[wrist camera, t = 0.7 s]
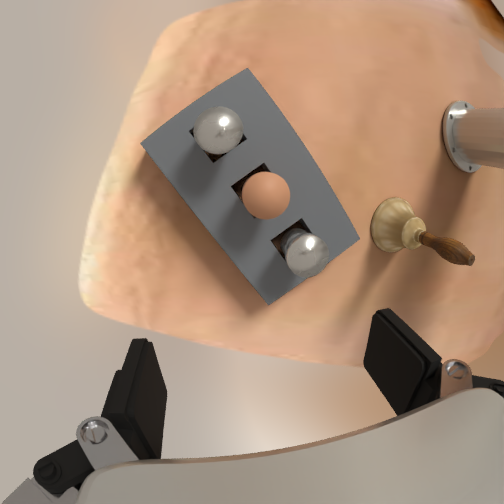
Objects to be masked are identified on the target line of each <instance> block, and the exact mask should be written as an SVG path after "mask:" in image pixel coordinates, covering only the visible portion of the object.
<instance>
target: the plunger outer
mask: <svg viewBox="0 0 504 504" xmlns="http://www.w3.org/2000/svg"><path fill="white" fill-rule="evenodd" d="M193 131H194V137H195V140H196V142H197V144H198V145H199V146H200V147H201V148H202V149H203V150H205V151H206V152H209V153H212V154H224V153H227V152H229V151H231V150H232V149H234V148H235V147H236V146H237V145H238V144H239V142H240V140H241V138H242V135H243V124H242V121H241V119H240V117H239V116H238V115H237V114H236V113H235V112H234V111H233V110H231V109H229V108H226V107H212V108H209V109H207V110H205V111H204V112H202V113H201V114H200V115H199V116H198V118H197V119H196V121H195V124H194V130H193Z"/></svg>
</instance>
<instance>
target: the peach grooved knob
mask: <svg viewBox="0 0 504 504" xmlns="http://www.w3.org/2000/svg"><path fill="white" fill-rule="evenodd" d="M242 201H243V204H244V206H245V207H246V209H247V210H248V211H249V213H251V214H252V215H253V216H255V217H257V218H259V219H273V218H276V217H278V216H279V215H281V214H282V213H283V212H284V211H285V210H286V208H287V206H288V204H289V201H290V190H289V187H288V185H287V183H286V181H285V180H284V179H283V178H282V177H280V176H279V175H277V174H274V173H271V172H259V173H256V174H254V175H252V176H250V177H249V178H247V179H246V181H245V182H244V184H243V187H242Z"/></svg>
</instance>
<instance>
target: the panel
mask: <svg viewBox="0 0 504 504" xmlns="http://www.w3.org/2000/svg"><path fill="white" fill-rule="evenodd" d="M212 107H226V108H229V109H231V110H233V111H234V112H235V113H236V114H237V115H238V116H239V117H240V119H241V121H242V124H243V135H242V138H241V139H242V140H243V141H244V142H242V143H241V144H239V145H238V146H236V147H235V148H234V149H232V150H231V151H229V152H228V153H226V154H225V155H224V156H222V157H221V158H220V159H218V160H217V161H215V162H214V163H213V162H212V161H211V159H210V158H209V157H208V155H207V154H206V153H205V151H204V150H203V149H202V148H201V147H200V146H199V145H198V144H197V142H196V140H195V138H194V137H193V136H192V134H193V133H194V131H193V130H194V124H195V121H196V119H197V118H198V116H199V115H200V114H201V113H202V112H204V111H205V110H207V109H209V108H212ZM140 144H141V145H142V146H143V148H144V149H145V150H146V151H147V153H148V154H149V155H150V157H151V158H152V159H153V161H154V162H155V163H156V165H157V166H158V167H159V168H160V170H161V171H162V172H163V174H164V175H165V176H166V178H167V179H168V180H169V181H170V183H171V184H172V185H173V187H174V188H175V189H176V190H177V192H178V193H179V194H180V196H181V197H182V198H183V199H184V201H185V202H186V203H187V205H188V206H189V207H190V208H191V210H192V211H193V212H194V213H195V215H196V216H197V217H198V219H199V220H200V221H201V222H202V224H203V225H204V226H205V227H206V229H207V230H208V231H209V232H210V234H211V235H212V236H213V237H214V239H215V240H216V241H217V242H218V244H219V245H220V246H221V247H222V249H223V250H224V251H225V252H226V254H227V255H228V256H229V257H230V259H231V260H232V261H233V262H234V264H235V265H236V266H237V267H238V269H239V270H240V271H241V272H242V274H243V275H244V276H245V277H246V278H247V280H248V281H249V282H250V283H251V285H252V286H253V287H254V288H255V289H256V291H257V292H258V293H259V294H260V296H261V297H262V298H263V299H264V300H265V302H266V303H267V304H268V305H270V304H271V303H273V302H274V301H276V300H277V299H278V298H280V297H281V296H283V295H284V294H286V293H287V292H288V291H290V290H291V289H293V288H294V287H296V286H297V285H298V284H300V283H301V282H303V281H304V280H305V279H307V278H308V277H300V276H297V275H296V274H294V273H293V272H292V271H291V269H290V268H289V266H288V265H287V263H286V260H285V257H284V258H283V257H282V255H281V254H280V253H279V251H278V250H277V248H276V247H275V246H274V244H273V243H272V242H271V240H272V239H273V238H274V237H276V236H277V235H279V234H280V233H281V232H283V231H284V230H286V229H287V228H288V227H290V226H291V225H293V224H294V223H295V222H297V221H298V220H299V222H300V223H301V225H302V226H303V228H304V229H305V231H306V232H307V233H312V234H315V235H316V236H318V237H319V238H320V239H322V240H323V241H324V242H325V243H326V245H327V247H328V250H329V259H328V262H327V263H329V262H330V261H331V260H333V259H334V258H335V257H337V256H338V255H339V254H341V253H342V252H343V251H345V250H346V249H347V248H349V247H350V246H351V245H353V244H354V243H355V242H357V241H358V240H359V239H360V238H359V236H358V234H357V232H356V230H355V228H354V227H353V225H352V223H351V221H350V219H349V217H348V216H347V214H346V212H345V210H344V209H343V207H342V205H341V203H340V202H339V200H338V198H337V197H336V195H335V193H334V191H333V190H332V188H331V186H330V185H329V183H328V181H327V180H326V178H325V177H324V175H323V173H322V172H321V170H320V169H319V167H318V165H317V164H316V162H315V161H314V159H313V158H312V156H311V154H310V153H309V151H308V150H307V148H306V147H305V145H304V144H303V142H302V141H301V139H300V138H299V136H298V135H297V133H296V132H295V131H294V129H293V128H292V126H291V125H290V123H289V122H288V120H287V119H286V118H285V116H284V115H283V113H282V112H281V111H280V109H279V108H278V107H277V105H276V104H275V102H274V101H273V100H272V98H271V97H270V96H269V94H268V93H267V92H266V90H265V89H264V88H263V87H262V85H261V84H260V83H259V81H258V80H257V79H256V78H255V76H254V75H253V74H252V73H251V71H250V70H249V69H248V68H246V69H245V70H243V71H241V72H240V73H238V74H236V75H235V76H233V77H231V78H230V79H228V80H226V81H225V82H223V83H222V84H220V85H218V86H217V87H215V88H214V89H212V90H211V91H209V92H208V93H206V94H205V95H203V96H202V97H200V98H199V99H197V100H196V101H195V102H193V103H192V104H190V105H189V106H187V107H186V108H185V109H183V110H182V111H181V112H179V113H178V114H177V115H175V116H174V117H173V118H171V119H170V120H169V121H167V122H166V123H165V124H163V125H162V126H161V127H160V128H158V129H157V130H156V131H155V132H153V133H152V134H151V135H150V136H148V137H147V138H146V139H145V140H144V141H142V142H141V143H140ZM260 165H261V166H262V168H263V169H264V170H265V172H271V173H274V174H277V175H279V176H280V177H282V178H283V179H284V180H285V181H286V183H287V185H288V187H289V190H290V201H289V204H288V206H287V208H286V210H285V211H284V212H283V213H282V214H281V215H279V216H278V217H276V218H273V219H259V218H257V217H255V216H253V215H252V214H251V213H249V211H248V210H247V209H246V207H245V206H244V204H243V202H242V201H241V199H240V198H239V197H238V195H237V194H236V192H235V191H234V190H233V188H232V187H231V186H232V185H233V184H235V183H236V182H237V181H239V180H240V179H241V178H243V177H244V176H246V175H247V174H248V173H250V172H251V171H253V170H254V169H256V168H257V167H258V166H260Z"/></svg>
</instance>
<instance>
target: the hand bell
mask: <svg viewBox="0 0 504 504" xmlns="http://www.w3.org/2000/svg"><path fill="white" fill-rule="evenodd" d="M371 234H372V238H373V240H374V242H375V244H376V245H377V246H378V248H380V249H381V250H383V251H385V252H395V251H398V250H400V249H402V248H407V249H410V250H412V249H416V248H418V247H419V246H420V245H421V244H423V245H426V246H428V247H431V248H433V249H434V250H436V252H437V253H438V254H439V255H440V256H441V257H442V258H444V259H445V260H447V261H449V262H451V263H453V264H458V265H468V266H471V265H472V264H473V263H474V261H475V256H474V255H473V254H472V253H471V252H470V251H469V250H468V249H467V248H466V247H465V246H464V245H463V244H462V243H461V242H459V241H457V240H454V239H451V238H445V237H444V238H440V237H436V236H434V235H432V234H430V233H428V232H426V227H425V224H424V222H423V221H422V220H421V219H420V218H418V217H417V216H415V214H414V211H413V209H412V207H411V206H410V204H409V203H408V202H407V201H405V200H404V199H402V198H398V197H393V198H389V199H387V200H385V201H384V202H382V203H381V204H380V205H379V207H378V208H377V209H376V211H375V213H374V215H373V219H372V223H371Z"/></svg>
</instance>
